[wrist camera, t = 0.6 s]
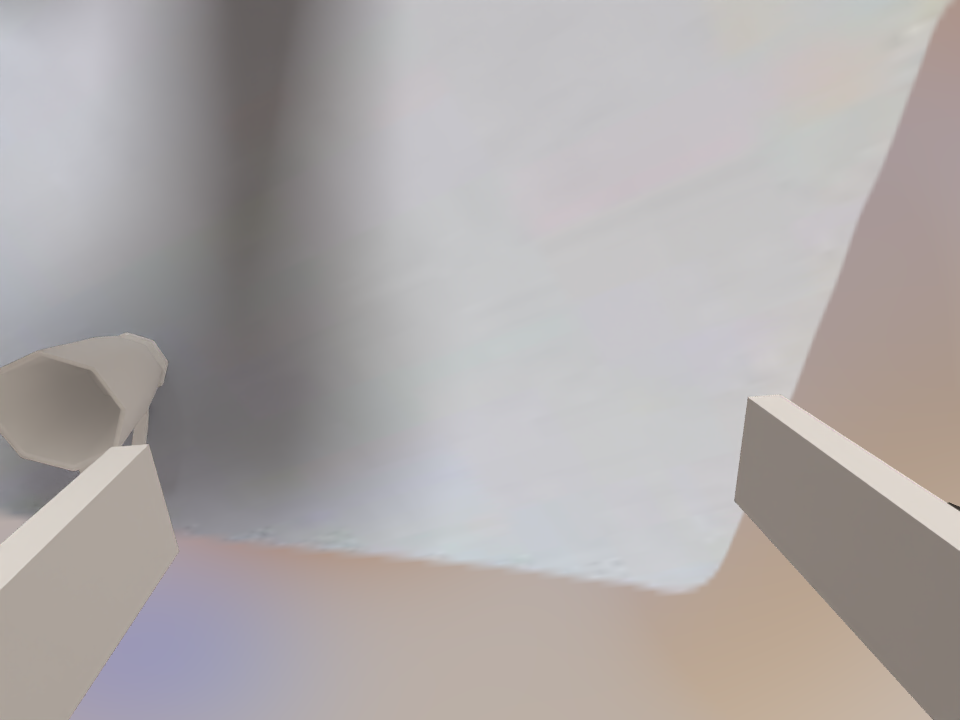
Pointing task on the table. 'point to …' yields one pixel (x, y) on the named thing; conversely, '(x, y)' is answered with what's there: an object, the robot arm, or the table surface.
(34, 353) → the cup
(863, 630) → the robot arm
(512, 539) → the table surface
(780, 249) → the table surface
